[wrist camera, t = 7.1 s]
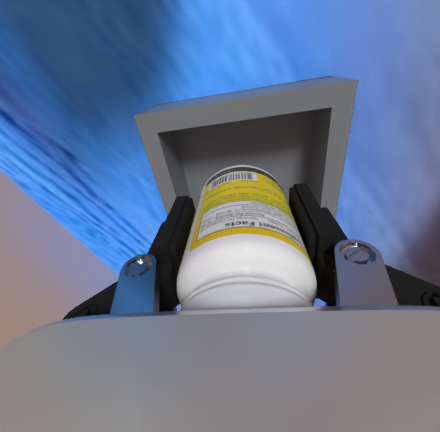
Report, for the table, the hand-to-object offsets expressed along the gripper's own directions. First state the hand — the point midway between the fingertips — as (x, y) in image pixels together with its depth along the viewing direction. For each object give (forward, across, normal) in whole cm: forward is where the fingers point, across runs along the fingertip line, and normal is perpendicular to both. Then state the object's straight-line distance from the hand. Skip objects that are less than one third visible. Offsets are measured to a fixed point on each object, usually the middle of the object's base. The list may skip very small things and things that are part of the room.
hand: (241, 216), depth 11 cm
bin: (+7, 0, 0) cm, 7 cm away
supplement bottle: (+2, 0, 0) cm, 2 cm away
